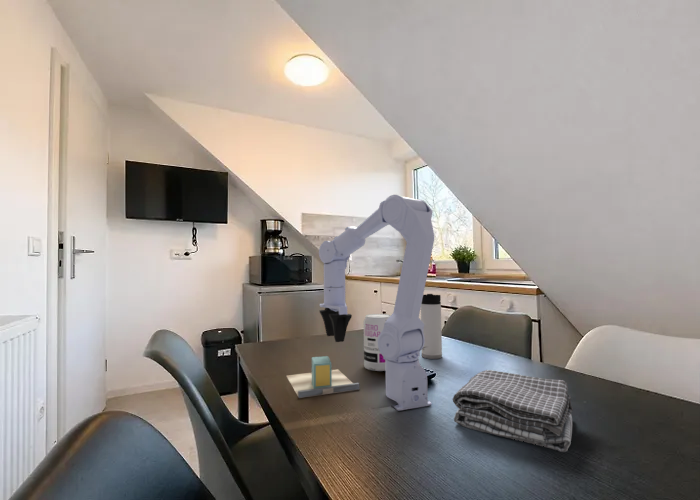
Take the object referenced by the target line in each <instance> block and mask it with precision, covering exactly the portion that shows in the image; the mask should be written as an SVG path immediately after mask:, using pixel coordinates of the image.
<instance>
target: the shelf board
mask: <svg viewBox="0 0 700 500" xmlns="http://www.w3.org/2000/svg"><path fill="white" fill-rule="evenodd" d="M331 370H332V386H330V387H323V388H316V389H313V385H312V372H306V373H305V372H304V373H296V374H290V375H286V378H287V380H288V382H289V384H290V385H291V387H292V388H293V390H294V392H295V394H296V396H297V397H298V399H302V398H309V397H316V396H322V395H328V394H330V395H331V394H336V393H344V392H353V391H358V390H360V388H361V387H360V382H352V381H351V380H350V379H349V378H348V377H347V376H346V375H345V374H344V373H342V372H341V371H340V369H338V368H337V369H331Z"/></svg>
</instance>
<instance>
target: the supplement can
mask: <svg viewBox="0 0 700 500" xmlns="http://www.w3.org/2000/svg"><path fill="white" fill-rule="evenodd" d="M391 315H392V314H387V313H369V314H366V315H365V318H364V320H363V367H364V368H365V369H367V370H369V371H374V372H375V371H377V372H383V371H384V372H386V371H385V359H383V355H382V354H381V353H380V351H379V348H378V337H379V335H380V333H381V332H382V330H383V328H384V323H385V322H386V320H387V319H388V318H389V317H390V316H391Z"/></svg>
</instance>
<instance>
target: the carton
mask: <svg viewBox="0 0 700 500" xmlns="http://www.w3.org/2000/svg"><path fill="white" fill-rule="evenodd" d="M332 370H333V369H332V362H331V359H330V357H329V356H327V355H325V356H323V355H322V356H312V357H311V373H312V385H313V389H316V388H323V387H330V386H332Z"/></svg>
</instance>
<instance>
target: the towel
mask: <svg viewBox="0 0 700 500" xmlns="http://www.w3.org/2000/svg"><path fill="white" fill-rule="evenodd" d="M568 392H569V385H568V383H567V382H566V381H565V380H563V379H562V380H561V379H549V378H541V377H533V376H529V375H522V374H517V373H511V372H505V371H499V370H493V369H486V370H482V371H479V372H478V373H477V374H475V375H474V376H472V377H471V378H470V379H469V380H468V382H467V383H466V384H465V385H463V386H462V387H460V389H458V390H457V392H456V393H454V395H453V397H452V402H453V404H454V405H455V406H456V408H457V410H456V412H455V414H454V417H453V420H454V421H453V422H454V423H456V424H457V425H460V426H462V427H464V428H467V429H470V430H474V431H477V432H478V431H479V432H482V433H485V434H486V433H487V434H491V435H495V436H498V437H501V438H502V437H503V438H506V439H511V440H514V439H515V440H514V441H518V440H519V442H523V441H524V442H525V443H528V444H533V445H535V444H536V445H535V446H540V447H543V446H544V447H543V448H547V449H550V450H551V449H552V450H554V451H556V450H558V452H560V453H566V452H568V451H569V450H568V449H569V448H570V446H571V443H572V442H571V441H572V434H573V416H572V413H573V411H574V408H573V405H572V401H571V399H572V398H571V395H569V393H568Z"/></svg>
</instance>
